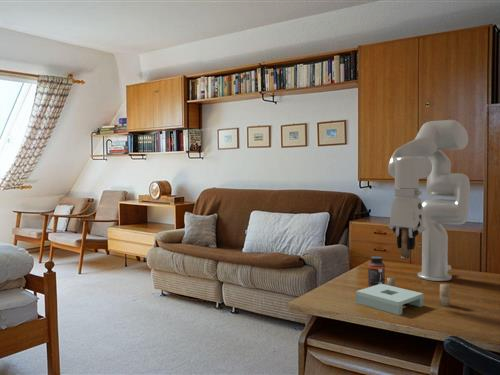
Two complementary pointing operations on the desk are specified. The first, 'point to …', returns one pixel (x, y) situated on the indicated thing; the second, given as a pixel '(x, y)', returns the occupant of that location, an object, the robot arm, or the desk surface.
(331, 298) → the desk surface
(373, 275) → the supplement bottle
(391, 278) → the short pin
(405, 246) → the long pin
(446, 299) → the medium pin
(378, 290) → the hole board
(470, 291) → the desk surface
